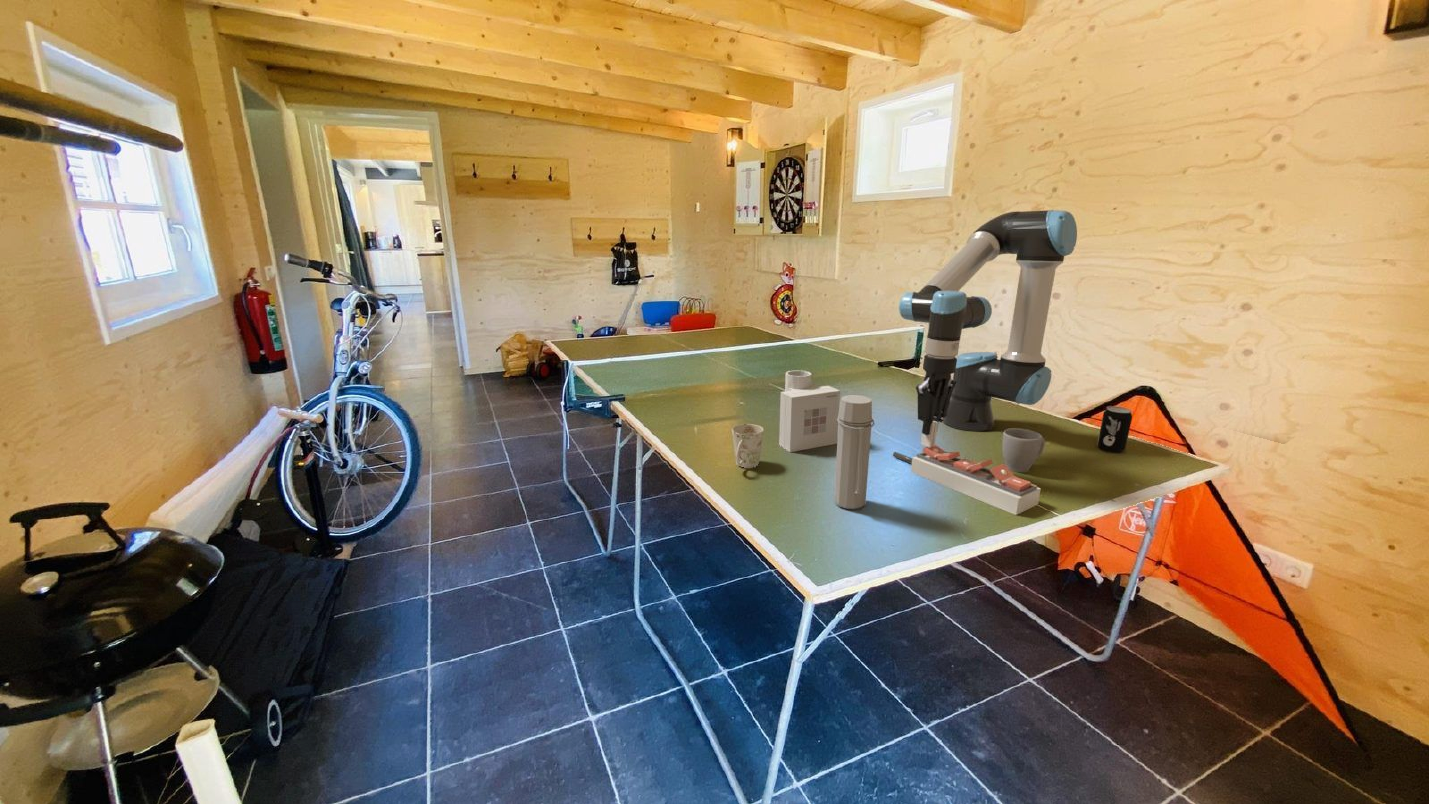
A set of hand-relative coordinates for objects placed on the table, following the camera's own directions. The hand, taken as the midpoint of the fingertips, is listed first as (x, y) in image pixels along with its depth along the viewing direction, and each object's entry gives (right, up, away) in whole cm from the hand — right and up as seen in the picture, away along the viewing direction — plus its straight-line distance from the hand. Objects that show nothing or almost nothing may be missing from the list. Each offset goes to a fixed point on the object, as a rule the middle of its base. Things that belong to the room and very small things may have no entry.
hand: (927, 445), depth 144 cm
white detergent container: (-30, 0, +26) cm, 39 cm away
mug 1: (-47, -6, +5) cm, 47 cm away
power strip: (+5, -9, -4) cm, 11 cm away
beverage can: (+58, -3, +15) cm, 59 cm away
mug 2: (+26, -6, +3) cm, 27 cm away
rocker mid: (+7, -4, -9) cm, 13 cm away
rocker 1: (+2, -2, -2) cm, 4 cm away
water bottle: (-24, -13, -16) cm, 32 cm away
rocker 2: (+12, -7, -17) cm, 22 cm away
